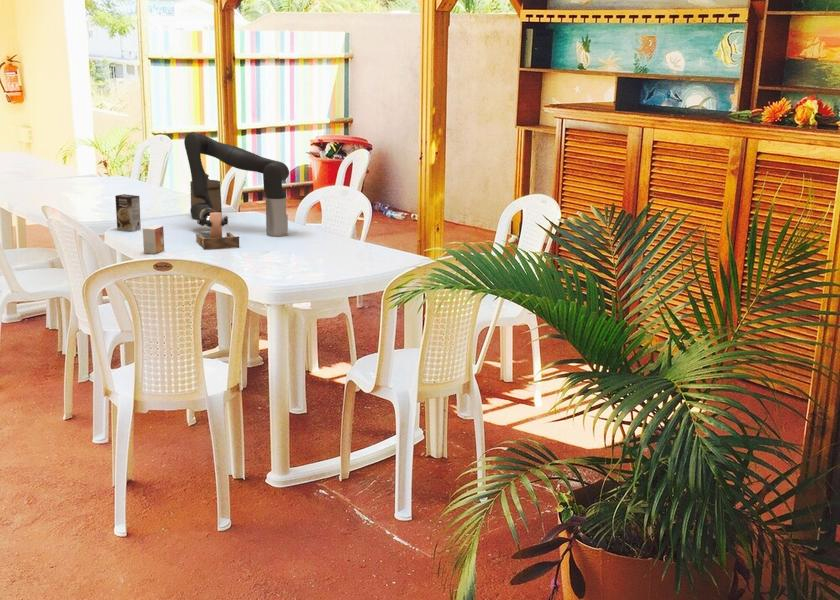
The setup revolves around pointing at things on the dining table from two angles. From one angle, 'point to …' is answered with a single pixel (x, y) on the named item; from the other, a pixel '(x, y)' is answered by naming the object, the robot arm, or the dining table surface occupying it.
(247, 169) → the robot arm
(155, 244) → the small box
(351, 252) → the dining table surface
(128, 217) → the coffee box
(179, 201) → the dining table surface
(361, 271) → the dining table surface
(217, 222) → the salmon orange cylinder
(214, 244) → the keyhole track
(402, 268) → the dining table surface
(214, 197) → the wooden container
